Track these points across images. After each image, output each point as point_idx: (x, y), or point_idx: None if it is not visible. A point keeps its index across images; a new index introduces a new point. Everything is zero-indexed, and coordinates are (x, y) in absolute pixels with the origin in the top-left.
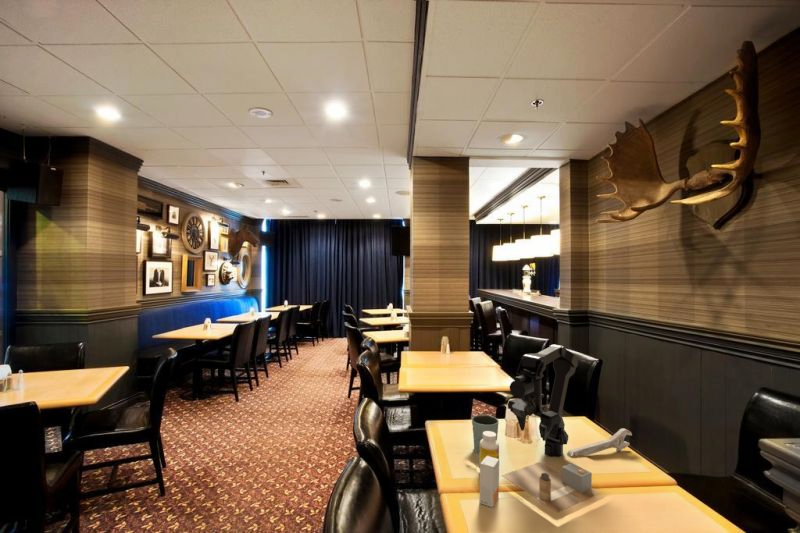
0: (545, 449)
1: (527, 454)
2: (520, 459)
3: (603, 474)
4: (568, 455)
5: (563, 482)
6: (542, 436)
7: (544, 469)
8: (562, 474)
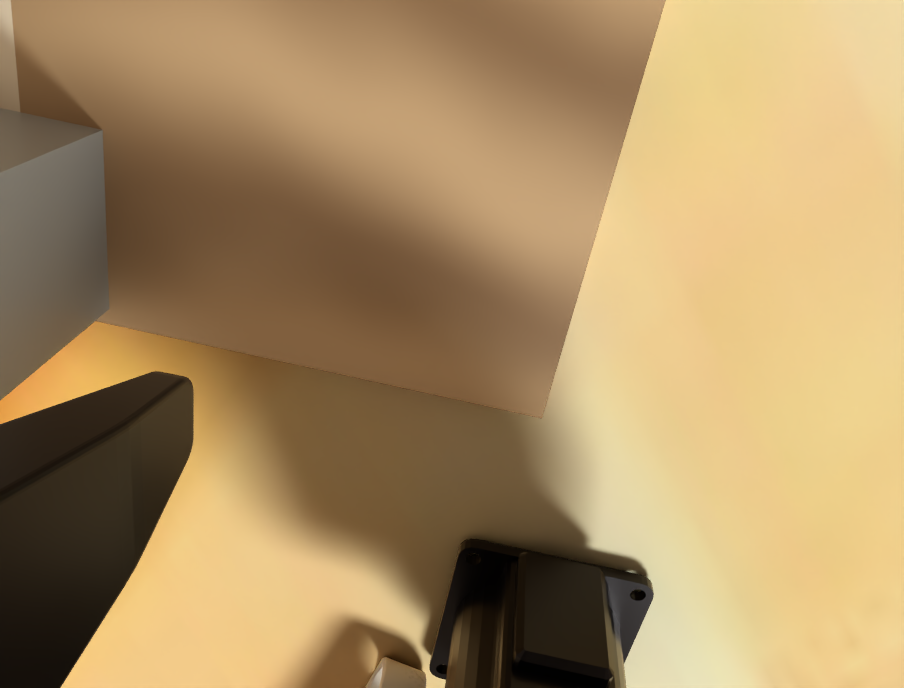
0: (593, 619)
1: (784, 482)
2: (809, 316)
3: None
4: (406, 683)
5: (77, 126)
6: (103, 422)
7: (413, 252)
8: (36, 154)
